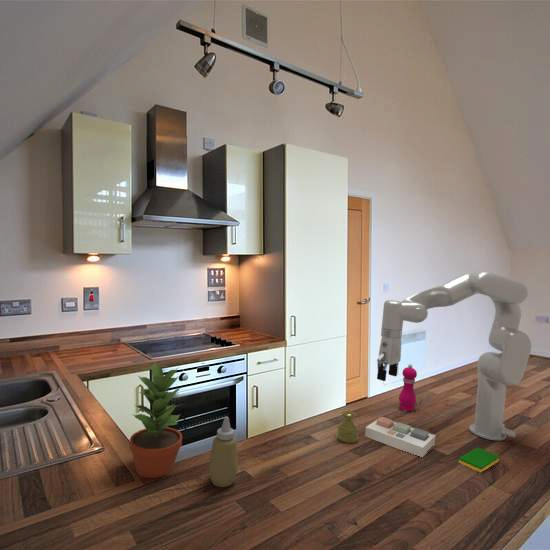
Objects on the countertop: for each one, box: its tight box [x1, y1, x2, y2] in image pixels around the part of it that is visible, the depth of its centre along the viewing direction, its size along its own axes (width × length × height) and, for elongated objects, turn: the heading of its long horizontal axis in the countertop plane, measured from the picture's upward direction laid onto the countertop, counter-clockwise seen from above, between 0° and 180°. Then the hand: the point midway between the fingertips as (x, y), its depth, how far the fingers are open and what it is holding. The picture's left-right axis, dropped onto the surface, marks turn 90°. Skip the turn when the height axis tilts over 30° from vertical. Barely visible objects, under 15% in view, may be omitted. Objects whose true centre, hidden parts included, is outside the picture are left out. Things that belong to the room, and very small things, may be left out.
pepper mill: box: [398, 363, 418, 412], centre depth 173 cm, size 7×7×20 cm
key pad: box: [364, 419, 436, 458], centre depth 141 cm, size 21×13×4 cm, turn 51°
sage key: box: [393, 422, 411, 435], centre depth 142 cm, size 5×5×3 cm
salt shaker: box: [336, 409, 360, 444], centre depth 140 cm, size 7×7×10 cm
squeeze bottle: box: [208, 416, 239, 488], centre depth 108 cm, size 8×8×18 cm
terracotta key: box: [376, 416, 395, 429], centre depth 146 cm, size 5×5×3 cm
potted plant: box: [128, 360, 183, 479], centre depth 112 cm, size 15×15×30 cm
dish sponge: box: [458, 447, 500, 472], centre depth 129 cm, size 7×14×2 cm, turn 129°
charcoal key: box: [411, 427, 430, 441], centre depth 138 cm, size 5×5×3 cm
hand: (387, 377), depth 149 cm, fingers open, 9 cm apart
